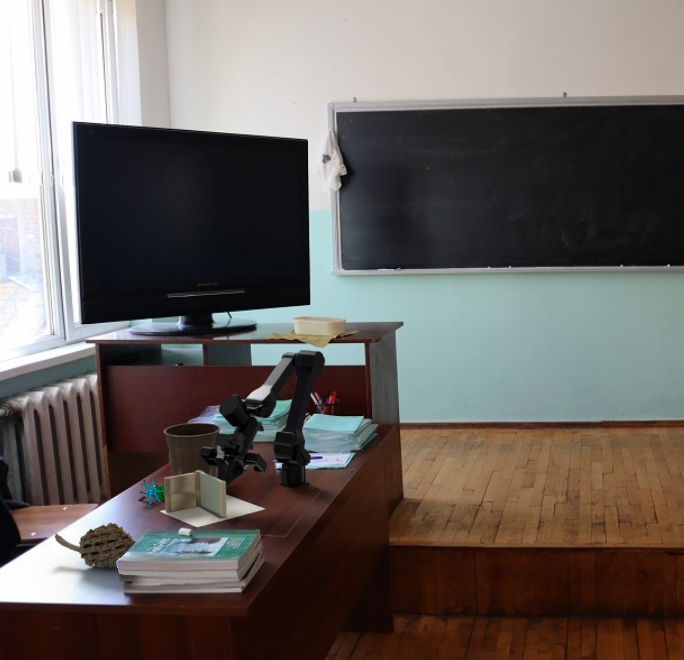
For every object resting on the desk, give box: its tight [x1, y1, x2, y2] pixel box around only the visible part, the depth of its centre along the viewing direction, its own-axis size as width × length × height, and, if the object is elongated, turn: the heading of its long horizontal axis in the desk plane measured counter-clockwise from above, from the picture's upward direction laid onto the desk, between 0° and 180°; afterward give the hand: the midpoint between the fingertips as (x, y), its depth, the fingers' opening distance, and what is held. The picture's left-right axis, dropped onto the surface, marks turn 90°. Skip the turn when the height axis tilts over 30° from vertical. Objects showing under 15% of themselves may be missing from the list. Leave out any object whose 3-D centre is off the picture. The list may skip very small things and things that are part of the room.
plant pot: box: [163, 422, 222, 488], centre depth 279 cm, size 16×16×16 cm
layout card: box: [159, 494, 265, 528], centre depth 253 cm, size 21×18×1 cm
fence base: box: [163, 470, 203, 512], centre depth 255 cm, size 11×2×9 cm, turn 123°
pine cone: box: [54, 522, 137, 569], centre depth 215 cm, size 22×10×10 cm, turn 71°
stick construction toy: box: [137, 478, 165, 506], centre depth 263 cm, size 12×7×8 cm
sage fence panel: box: [200, 472, 227, 517], centre depth 251 cm, size 12×1×9 cm, turn 35°
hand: (219, 487), depth 249 cm, fingers closed
